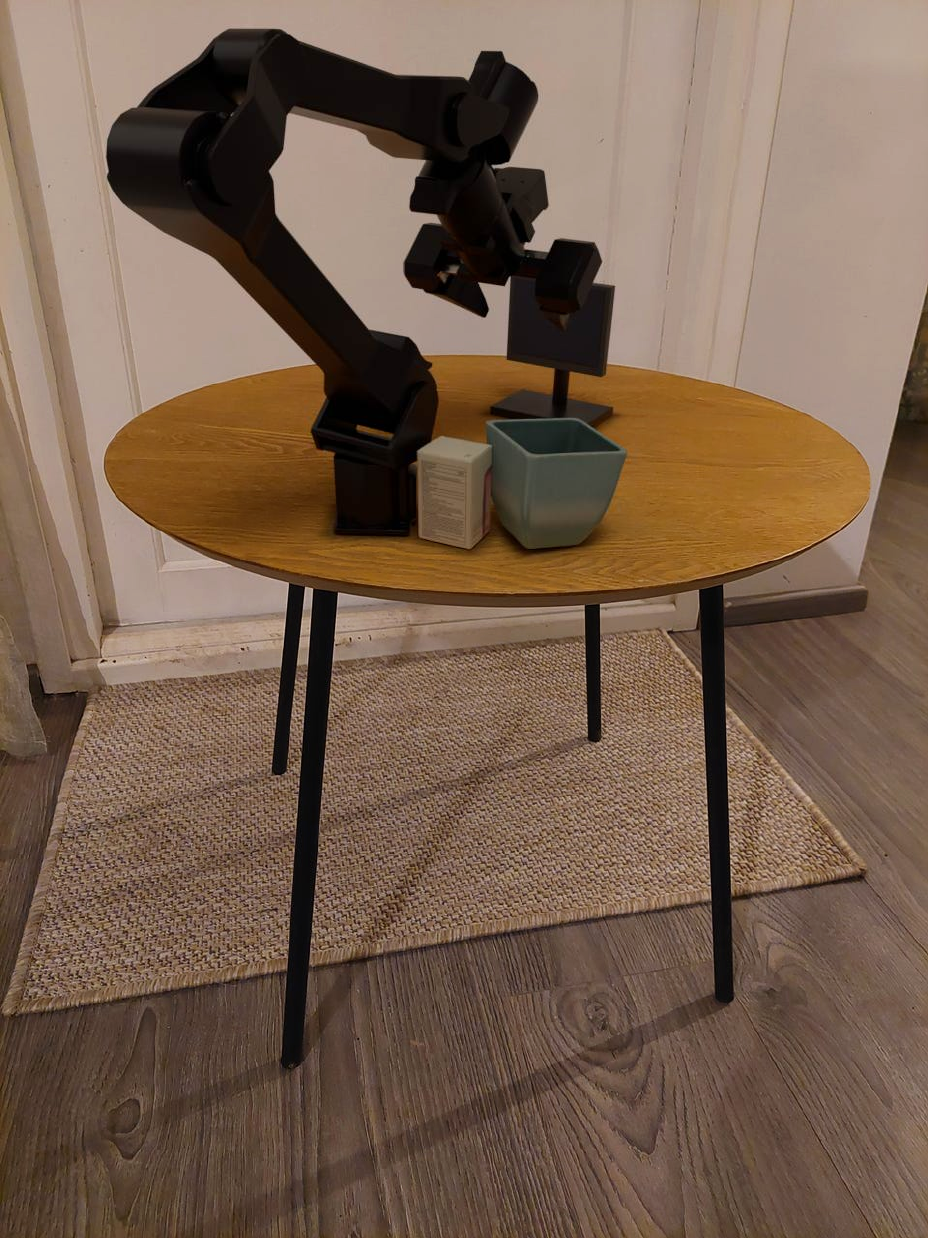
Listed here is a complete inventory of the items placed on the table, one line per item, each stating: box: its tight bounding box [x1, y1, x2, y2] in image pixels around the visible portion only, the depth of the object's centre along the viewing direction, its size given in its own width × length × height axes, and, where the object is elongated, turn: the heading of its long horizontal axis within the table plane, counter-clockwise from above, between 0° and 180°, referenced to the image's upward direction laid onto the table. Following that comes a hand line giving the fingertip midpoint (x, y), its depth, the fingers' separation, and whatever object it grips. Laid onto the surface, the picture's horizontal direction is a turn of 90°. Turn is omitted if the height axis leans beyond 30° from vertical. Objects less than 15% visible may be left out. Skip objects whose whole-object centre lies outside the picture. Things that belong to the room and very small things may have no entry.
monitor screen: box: [505, 276, 616, 378], centre depth 100 cm, size 1×12×10 cm, turn 59°
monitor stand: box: [489, 369, 614, 429], centre depth 103 cm, size 8×12×7 cm, turn 59°
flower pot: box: [485, 418, 629, 550], centre depth 75 cm, size 9×9×9 cm
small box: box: [416, 435, 492, 550], centre depth 75 cm, size 5×4×8 cm
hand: (524, 320), depth 92 cm, fingers open, 9 cm apart
